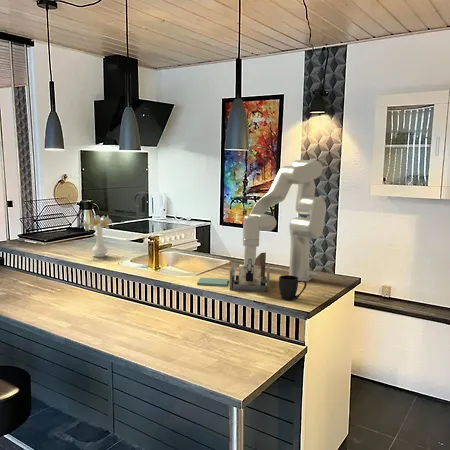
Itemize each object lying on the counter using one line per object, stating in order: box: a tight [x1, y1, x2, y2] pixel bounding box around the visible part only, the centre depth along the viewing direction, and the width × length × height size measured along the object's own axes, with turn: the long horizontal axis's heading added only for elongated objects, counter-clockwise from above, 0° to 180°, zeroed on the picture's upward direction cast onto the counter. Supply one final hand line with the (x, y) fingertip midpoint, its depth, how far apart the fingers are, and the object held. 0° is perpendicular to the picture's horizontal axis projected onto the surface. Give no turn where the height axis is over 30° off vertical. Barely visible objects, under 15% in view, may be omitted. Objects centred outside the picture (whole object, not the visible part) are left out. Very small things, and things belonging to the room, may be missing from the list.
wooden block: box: [255, 252, 267, 277], centre depth 226 cm, size 4×11×18 cm, turn 39°
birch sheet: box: [238, 264, 261, 286], centre depth 207 cm, size 10×2×11 cm, turn 84°
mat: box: [196, 277, 229, 287], centre depth 216 cm, size 14×10×1 cm
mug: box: [278, 274, 308, 302], centre depth 192 cm, size 8×12×10 cm
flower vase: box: [81, 214, 114, 258], centre depth 267 cm, size 13×18×25 cm
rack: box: [229, 261, 271, 293], centre depth 212 cm, size 18×18×9 cm
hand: (249, 278), depth 207 cm, fingers open, 9 cm apart
